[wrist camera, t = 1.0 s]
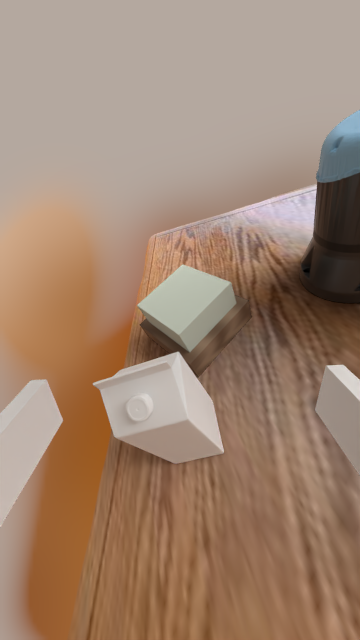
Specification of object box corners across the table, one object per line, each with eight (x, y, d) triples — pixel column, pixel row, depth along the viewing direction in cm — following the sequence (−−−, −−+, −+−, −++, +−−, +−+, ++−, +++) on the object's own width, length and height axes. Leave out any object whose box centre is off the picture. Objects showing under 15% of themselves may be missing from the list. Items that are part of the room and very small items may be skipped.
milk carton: (170, 412, 36) (98, 351, 22) (213, 401, 34) (163, 328, 21) (175, 464, 31) (85, 426, 17) (224, 453, 29) (170, 403, 16)
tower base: (197, 293, 52) (190, 277, 48) (252, 318, 42) (248, 300, 38) (150, 338, 48) (139, 324, 44) (199, 378, 38) (190, 364, 35)
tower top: (190, 283, 47) (182, 264, 43) (236, 303, 39) (231, 282, 35) (149, 322, 44) (137, 305, 40) (189, 352, 36) (178, 334, 32)
